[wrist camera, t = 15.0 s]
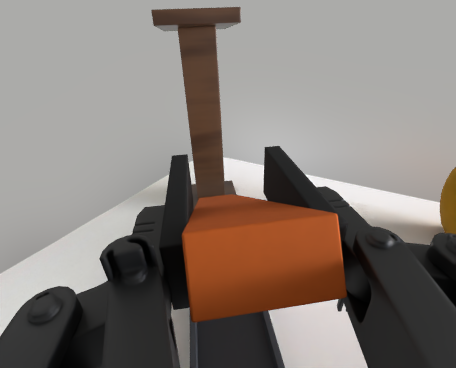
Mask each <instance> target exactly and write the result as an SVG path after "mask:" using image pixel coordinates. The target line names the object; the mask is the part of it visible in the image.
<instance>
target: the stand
mask: <svg viewBox="0 0 456 368" xmlns="http://www.w3.org/2000/svg"><path fill="white" fill-rule="evenodd" d="M152 16H153V24H154V26H156V27H158V28H160V29H161V30H163V31H178V35H179V43H180V52H181V60H182V68H183V77H184V86H185V94H186V103H187V111H188V120H189V128H190V137H191V145H192V154H193V163H194V171H195V180H196V184H194V185H191V186H192V194H193V205H194V208H195V206H196V204H197V202H198V200H199V198H204V197H212V196H221V195H229V194H233V195H236V192H235V189H234V186H233V183H232V181H224V166H223V148H222V130H221V111H220V93H219V74H218V55H217V37H216V29H226V28H228V27H231V26H233V25H235V24H238V23H240V22H241V8H240V7H227V8H226V7H225V8H193V9H163V10H152Z"/></svg>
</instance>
